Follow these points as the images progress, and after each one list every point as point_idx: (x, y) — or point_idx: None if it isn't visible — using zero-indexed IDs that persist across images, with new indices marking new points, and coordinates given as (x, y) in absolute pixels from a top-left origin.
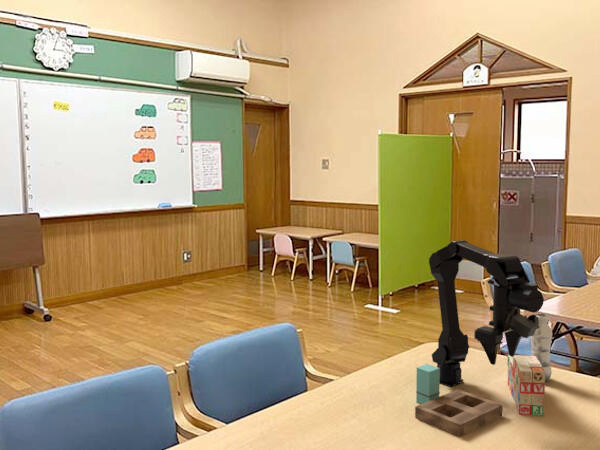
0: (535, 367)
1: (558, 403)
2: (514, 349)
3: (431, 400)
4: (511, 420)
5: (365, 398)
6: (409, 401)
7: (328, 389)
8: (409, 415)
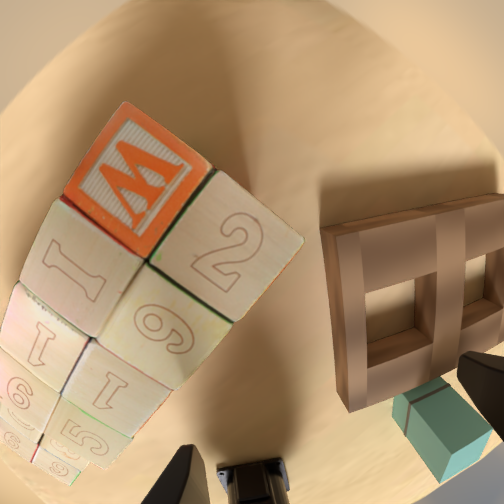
0: (110, 230)
1: (41, 211)
2: (184, 492)
3: None
4: (320, 182)
5: None
6: None
7: None
8: None
